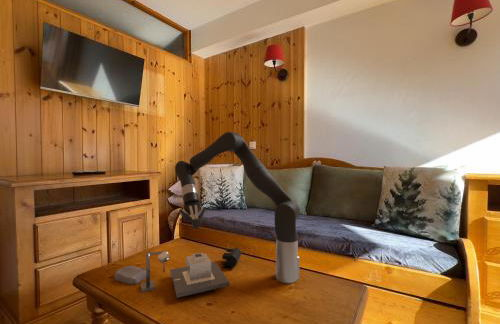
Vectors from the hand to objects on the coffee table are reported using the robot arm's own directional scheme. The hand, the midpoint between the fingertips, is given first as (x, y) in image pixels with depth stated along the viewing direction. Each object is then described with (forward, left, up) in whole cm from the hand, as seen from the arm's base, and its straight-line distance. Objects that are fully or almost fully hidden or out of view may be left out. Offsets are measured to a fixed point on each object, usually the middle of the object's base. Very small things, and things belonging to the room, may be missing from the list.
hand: (196, 228), depth 111 cm
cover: (+2, +12, -16) cm, 20 cm away
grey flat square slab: (+2, +11, -18) cm, 21 cm away
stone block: (+26, -5, -20) cm, 34 cm away
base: (+2, +11, -20) cm, 23 cm away
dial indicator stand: (+18, +6, -20) cm, 27 cm away
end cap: (-17, 0, -20) cm, 27 cm away
